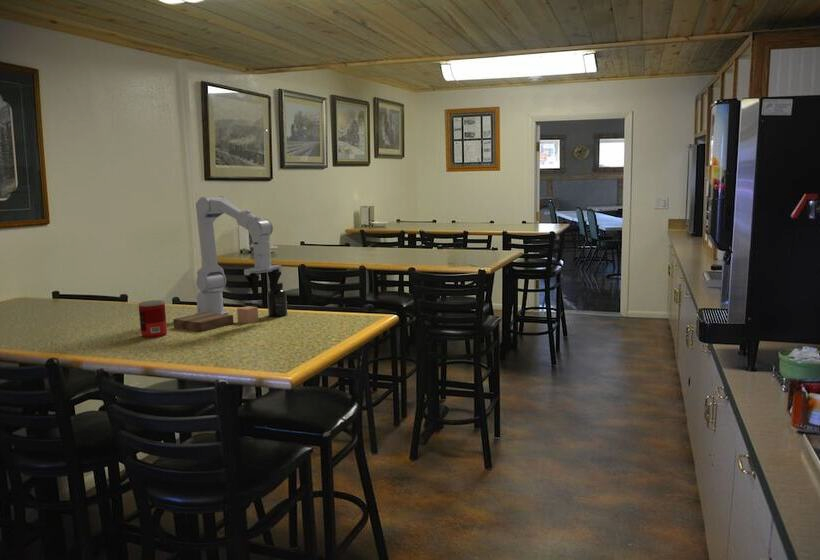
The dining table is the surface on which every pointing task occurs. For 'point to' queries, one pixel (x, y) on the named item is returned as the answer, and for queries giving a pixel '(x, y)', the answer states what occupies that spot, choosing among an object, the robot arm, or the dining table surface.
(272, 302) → the supplement bottle
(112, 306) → the dining table surface
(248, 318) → the terracotta cube
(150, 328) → the canned food
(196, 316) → the walnut base
